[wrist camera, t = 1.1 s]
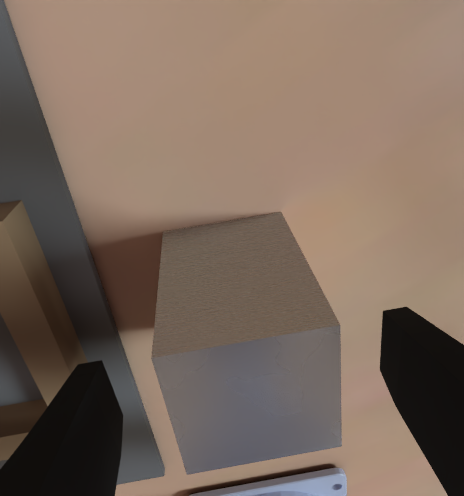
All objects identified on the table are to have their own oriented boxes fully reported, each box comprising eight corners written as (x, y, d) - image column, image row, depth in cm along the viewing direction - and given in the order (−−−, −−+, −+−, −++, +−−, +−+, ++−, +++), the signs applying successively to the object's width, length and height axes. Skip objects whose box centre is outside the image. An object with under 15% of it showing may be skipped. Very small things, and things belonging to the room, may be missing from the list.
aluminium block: (289, 306, 16) (341, 446, 11) (185, 324, 16) (187, 474, 11) (281, 211, 14) (340, 325, 9) (162, 231, 14) (151, 358, 9)
